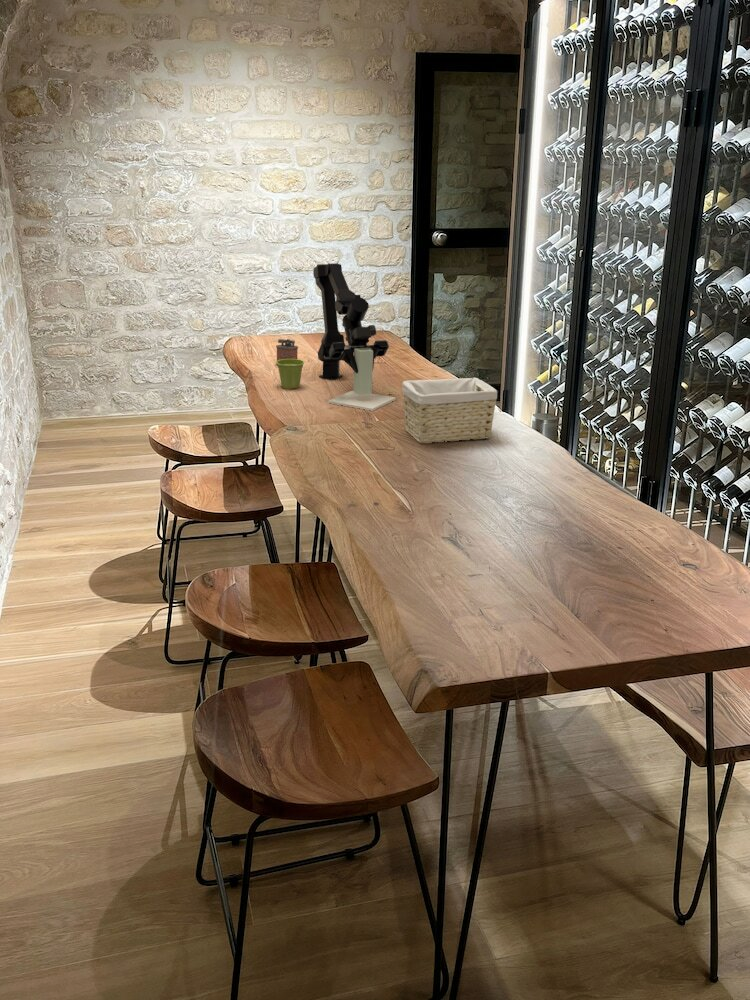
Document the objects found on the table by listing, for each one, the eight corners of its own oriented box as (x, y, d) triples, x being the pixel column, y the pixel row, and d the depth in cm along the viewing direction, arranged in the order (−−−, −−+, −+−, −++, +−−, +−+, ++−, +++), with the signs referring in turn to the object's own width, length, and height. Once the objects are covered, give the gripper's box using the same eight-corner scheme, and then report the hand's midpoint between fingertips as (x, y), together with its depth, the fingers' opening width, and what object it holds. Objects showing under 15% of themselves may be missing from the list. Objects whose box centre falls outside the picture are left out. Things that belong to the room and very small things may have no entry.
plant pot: (300, 391, 289) (300, 365, 285) (272, 389, 290) (272, 363, 287) (307, 384, 297) (307, 359, 294) (281, 382, 299) (281, 357, 296)
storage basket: (415, 446, 239) (418, 394, 234) (398, 428, 254) (400, 379, 248) (495, 441, 246) (500, 390, 240) (474, 424, 260) (478, 376, 255)
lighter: (298, 365, 323) (298, 338, 320) (297, 367, 320) (297, 340, 316) (277, 364, 324) (277, 337, 320) (275, 366, 321) (275, 339, 317)
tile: (353, 392, 290) (353, 390, 289) (395, 399, 283) (395, 397, 282) (328, 403, 276) (328, 400, 276) (372, 411, 270) (372, 408, 269)
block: (365, 390, 281) (367, 347, 276) (371, 393, 278) (373, 350, 272) (353, 391, 280) (354, 348, 274) (359, 395, 276) (360, 351, 271)
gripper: (332, 316, 270) (343, 359, 265) (388, 315, 276) (399, 357, 271) (324, 337, 280) (334, 378, 274) (378, 334, 286) (389, 375, 281)
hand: (364, 372), depth 275 cm, fingers closed on block, 5 cm apart
